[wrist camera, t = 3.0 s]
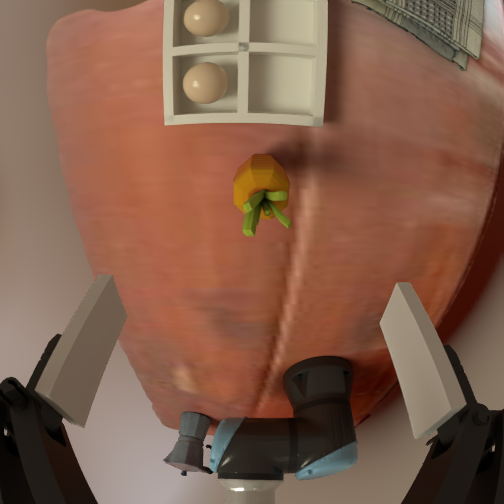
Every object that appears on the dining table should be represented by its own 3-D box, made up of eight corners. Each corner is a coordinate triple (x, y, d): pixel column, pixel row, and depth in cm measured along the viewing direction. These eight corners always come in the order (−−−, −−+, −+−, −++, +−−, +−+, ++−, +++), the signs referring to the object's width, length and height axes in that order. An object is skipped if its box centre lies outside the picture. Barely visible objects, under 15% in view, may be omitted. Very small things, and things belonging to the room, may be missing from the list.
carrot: (274, 134, 29) (284, 174, 17) (288, 173, 32) (306, 238, 19) (233, 149, 30) (212, 199, 18) (249, 186, 33) (240, 258, 20)
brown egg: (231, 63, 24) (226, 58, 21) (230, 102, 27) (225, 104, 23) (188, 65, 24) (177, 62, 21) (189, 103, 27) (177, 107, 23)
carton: (320, -4, 19) (327, -13, 17) (316, 122, 28) (322, 127, 25) (175, -3, 20) (165, -12, 17) (174, 120, 29) (164, 125, 26)
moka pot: (169, 407, 68) (157, 468, 52) (223, 414, 69) (217, 477, 52) (174, 418, 74) (164, 474, 57) (222, 425, 74) (217, 482, 57)
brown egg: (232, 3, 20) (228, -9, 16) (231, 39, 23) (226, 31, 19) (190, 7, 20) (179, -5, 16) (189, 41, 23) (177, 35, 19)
